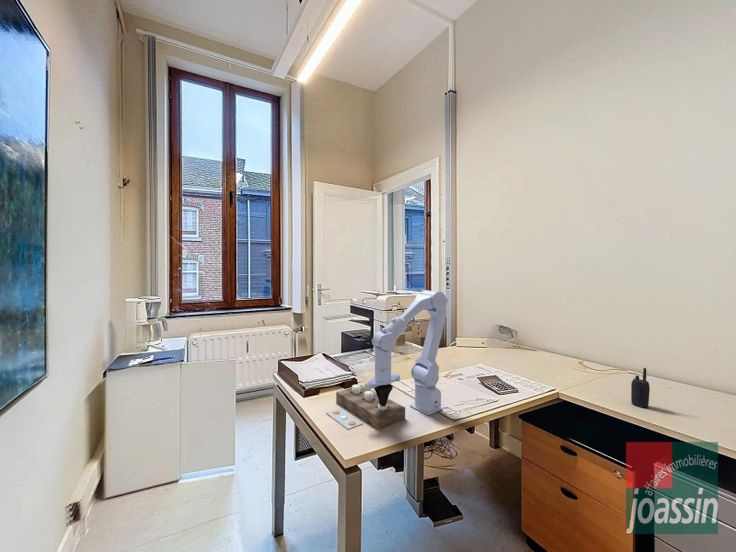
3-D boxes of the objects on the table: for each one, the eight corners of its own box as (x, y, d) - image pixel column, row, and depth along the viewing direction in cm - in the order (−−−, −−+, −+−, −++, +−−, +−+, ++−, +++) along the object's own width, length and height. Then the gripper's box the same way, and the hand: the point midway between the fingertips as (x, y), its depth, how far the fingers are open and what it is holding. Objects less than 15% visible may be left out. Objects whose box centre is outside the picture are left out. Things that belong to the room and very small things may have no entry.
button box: (405, 418, 112) (405, 407, 111) (378, 429, 104) (378, 417, 104) (361, 394, 132) (361, 384, 132) (336, 402, 125) (336, 392, 125)
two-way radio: (650, 407, 121) (652, 368, 120) (645, 410, 118) (646, 370, 118) (632, 402, 125) (634, 364, 125) (627, 404, 123) (628, 366, 123)
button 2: (389, 416, 112) (389, 405, 111) (382, 419, 110) (382, 407, 109) (383, 413, 114) (383, 402, 114) (376, 415, 112) (376, 404, 112)
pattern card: (362, 424, 108) (362, 422, 108) (348, 429, 104) (348, 428, 104) (340, 409, 119) (340, 407, 119) (326, 413, 115) (326, 412, 115)
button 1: (362, 396, 124) (362, 386, 124) (355, 398, 122) (355, 388, 122) (357, 393, 127) (357, 383, 127) (350, 395, 125) (350, 385, 125)
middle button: (374, 403, 118) (374, 392, 118) (368, 406, 116) (368, 395, 116) (369, 400, 120) (369, 390, 120) (362, 402, 118) (362, 392, 118)
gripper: (390, 360, 119) (390, 396, 119) (359, 367, 110) (359, 406, 110) (404, 365, 113) (403, 402, 114) (372, 373, 104) (371, 414, 105)
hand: (382, 405), depth 112 cm, fingers closed, pressing on button 2
